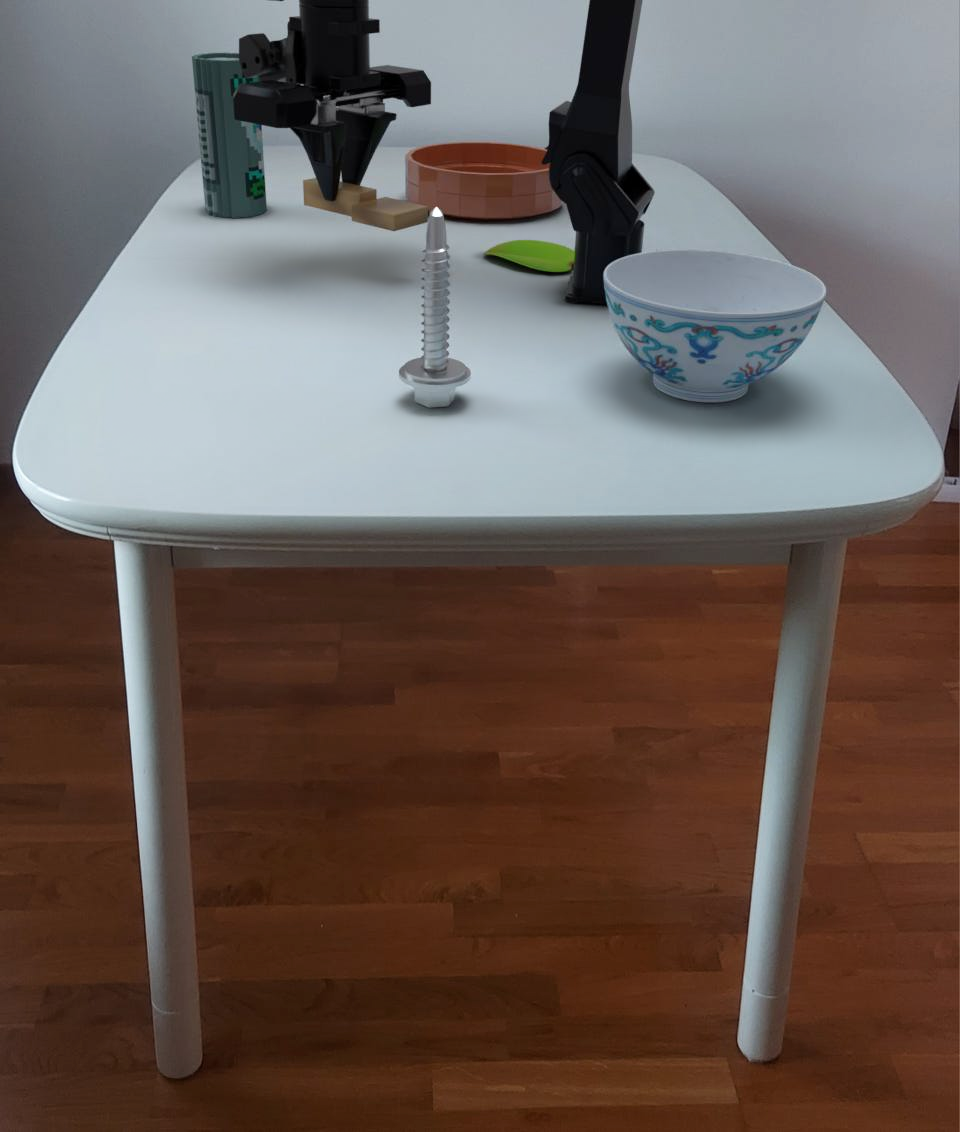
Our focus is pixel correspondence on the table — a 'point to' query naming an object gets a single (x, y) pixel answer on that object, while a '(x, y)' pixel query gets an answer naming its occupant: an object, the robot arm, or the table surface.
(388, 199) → the stepped wooden block
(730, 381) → the chinaware
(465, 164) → the bowl
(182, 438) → the table surface
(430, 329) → the screw
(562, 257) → the decorative leaf
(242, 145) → the can
